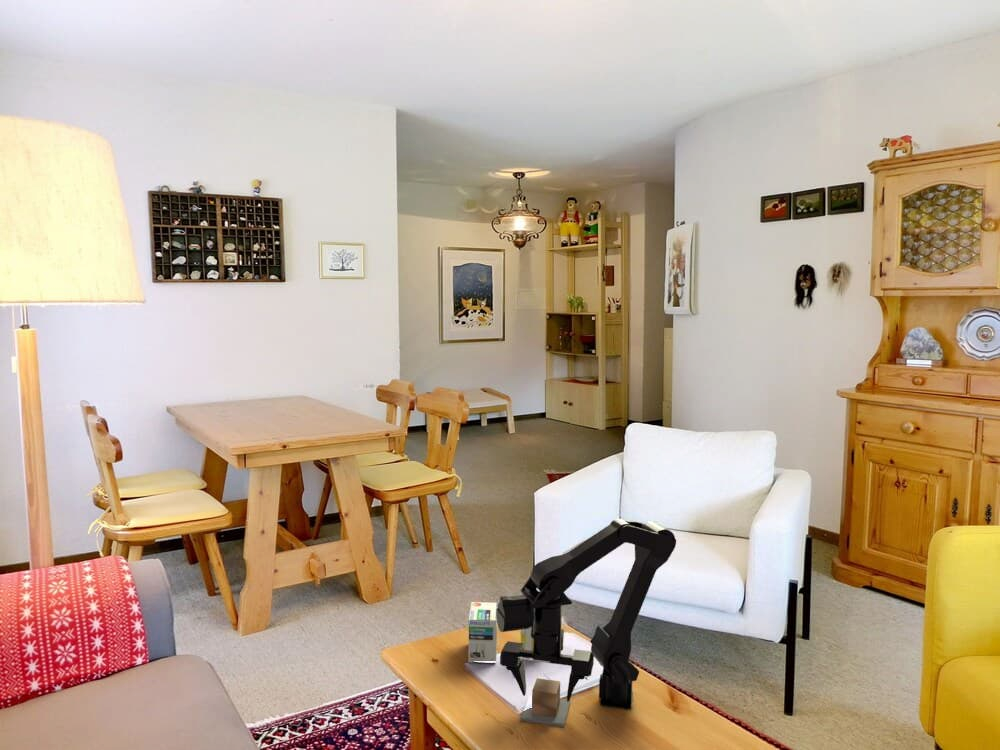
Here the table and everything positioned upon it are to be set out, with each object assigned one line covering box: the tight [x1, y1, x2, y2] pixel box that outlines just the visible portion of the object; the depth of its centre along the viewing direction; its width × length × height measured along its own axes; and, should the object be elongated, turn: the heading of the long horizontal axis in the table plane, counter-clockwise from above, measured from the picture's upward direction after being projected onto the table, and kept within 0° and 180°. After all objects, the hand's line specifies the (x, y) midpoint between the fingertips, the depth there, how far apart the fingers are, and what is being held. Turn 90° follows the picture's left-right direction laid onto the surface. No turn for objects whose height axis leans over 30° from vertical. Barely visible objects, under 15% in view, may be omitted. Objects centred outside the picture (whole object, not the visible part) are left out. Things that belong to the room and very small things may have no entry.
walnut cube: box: [531, 677, 561, 717], centre depth 148 cm, size 5×5×5 cm
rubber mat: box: [519, 698, 571, 728], centre depth 148 cm, size 9×9×1 cm
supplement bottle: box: [520, 627, 533, 651], centre depth 173 cm, size 7×7×13 cm
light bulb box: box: [468, 601, 498, 663], centre depth 173 cm, size 11×7×11 cm, turn 179°
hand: (546, 697), depth 148 cm, fingers open, 9 cm apart
